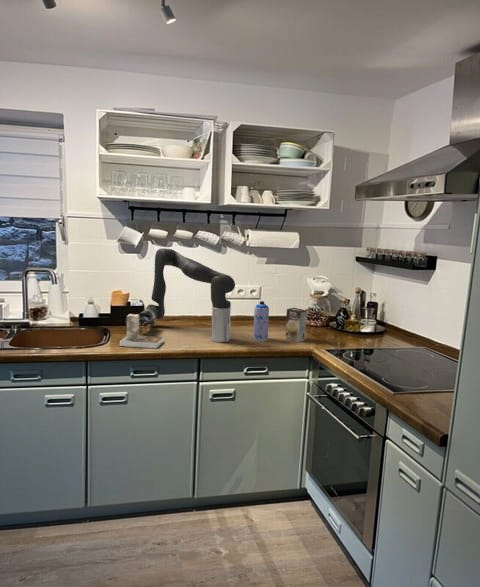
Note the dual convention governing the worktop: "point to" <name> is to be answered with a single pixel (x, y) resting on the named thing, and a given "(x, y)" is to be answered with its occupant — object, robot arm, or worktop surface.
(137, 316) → the peg
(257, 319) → the aerosol can
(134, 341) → the grey flat block
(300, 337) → the coffee box
